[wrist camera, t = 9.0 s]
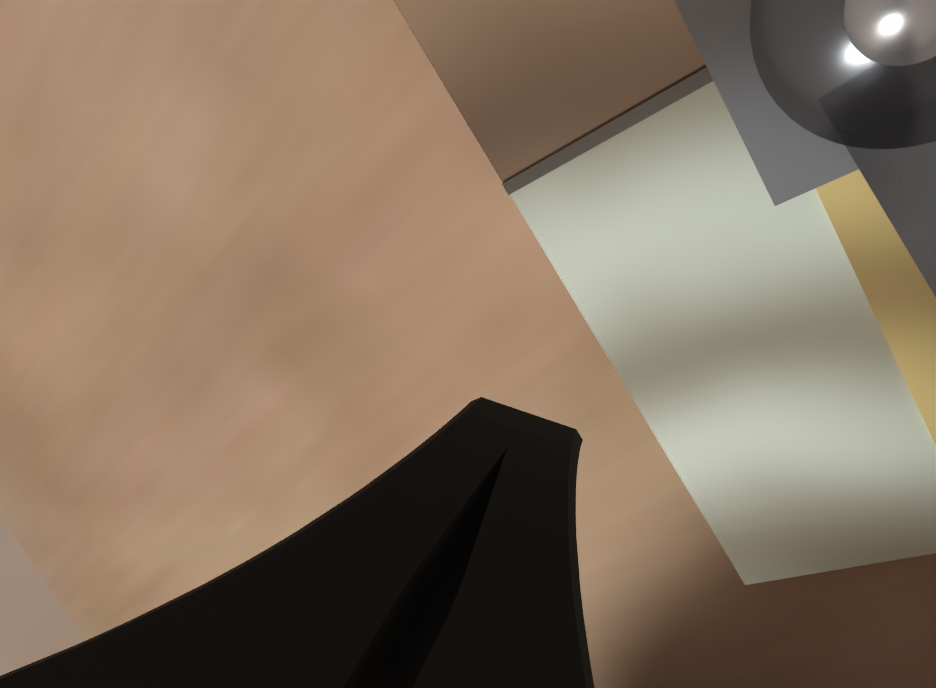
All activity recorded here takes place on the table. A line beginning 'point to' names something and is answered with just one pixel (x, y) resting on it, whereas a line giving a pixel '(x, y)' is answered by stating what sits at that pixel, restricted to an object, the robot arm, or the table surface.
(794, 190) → the door board
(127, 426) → the table surface
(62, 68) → the table surface
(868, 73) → the latch bar
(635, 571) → the table surface
